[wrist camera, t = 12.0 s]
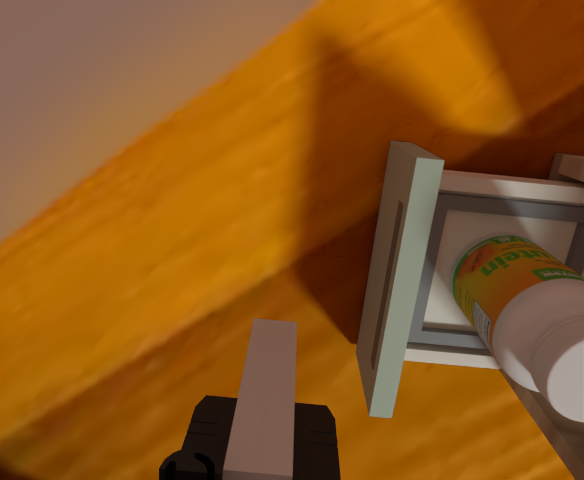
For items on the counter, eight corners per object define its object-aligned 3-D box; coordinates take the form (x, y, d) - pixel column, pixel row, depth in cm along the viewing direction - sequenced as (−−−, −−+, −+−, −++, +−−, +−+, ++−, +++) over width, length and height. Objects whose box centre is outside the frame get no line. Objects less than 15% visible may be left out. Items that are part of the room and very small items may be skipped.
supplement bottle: (536, 219, 25) (673, 298, 16) (549, 303, 27) (680, 420, 18) (439, 246, 26) (517, 338, 17) (457, 327, 27) (537, 451, 18)
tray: (355, 352, 30) (368, 416, 24) (389, 140, 25) (415, 157, 20) (566, 371, 30) (629, 439, 24) (637, 165, 26) (734, 189, 20)
